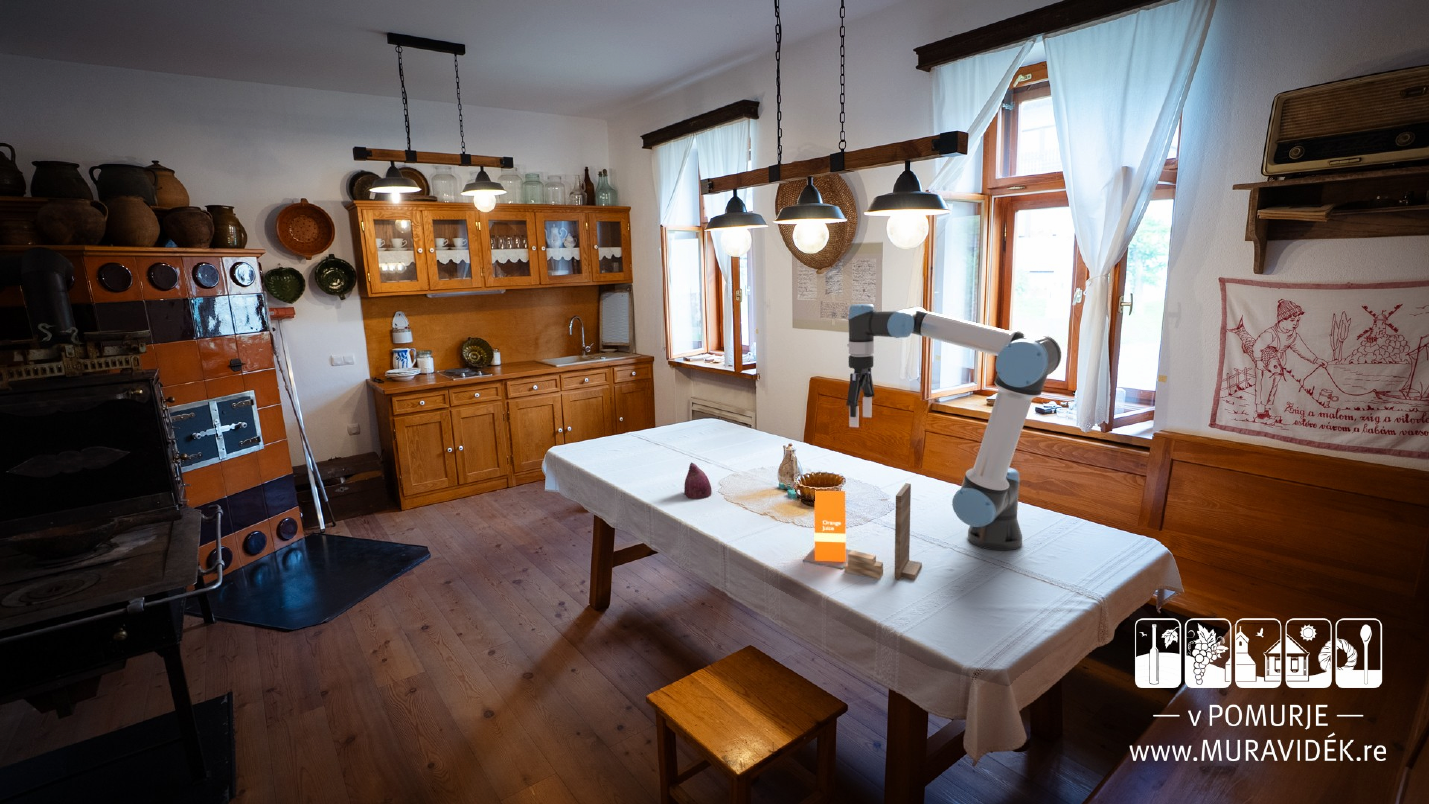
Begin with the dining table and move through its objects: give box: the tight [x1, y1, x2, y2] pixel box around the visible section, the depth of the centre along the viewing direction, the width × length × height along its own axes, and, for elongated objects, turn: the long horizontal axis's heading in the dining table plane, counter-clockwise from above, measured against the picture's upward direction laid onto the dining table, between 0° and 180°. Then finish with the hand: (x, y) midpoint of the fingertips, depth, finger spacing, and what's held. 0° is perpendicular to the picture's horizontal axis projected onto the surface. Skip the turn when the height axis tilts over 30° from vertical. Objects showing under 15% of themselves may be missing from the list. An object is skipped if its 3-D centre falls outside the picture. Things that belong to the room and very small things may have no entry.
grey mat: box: [802, 547, 852, 570], centre depth 195 cm, size 12×12×1 cm
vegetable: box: [683, 462, 713, 500], centre depth 248 cm, size 10×10×15 cm
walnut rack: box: [843, 482, 923, 581], centre depth 183 cm, size 18×12×24 cm, turn 60°
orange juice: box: [814, 490, 847, 562], centre depth 193 cm, size 8×9×20 cm
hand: (860, 421), depth 209 cm, fingers open, 13 cm apart
